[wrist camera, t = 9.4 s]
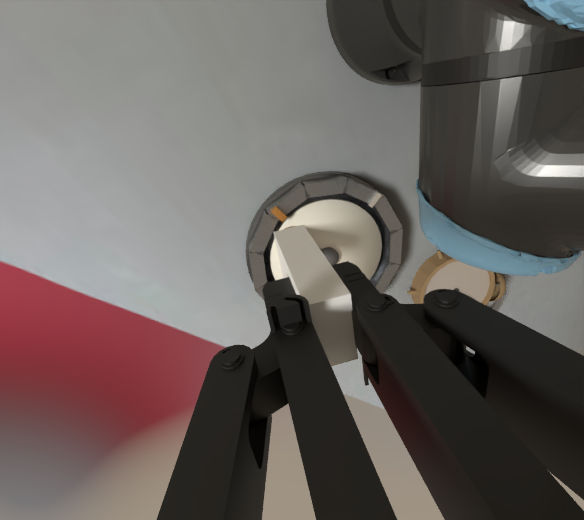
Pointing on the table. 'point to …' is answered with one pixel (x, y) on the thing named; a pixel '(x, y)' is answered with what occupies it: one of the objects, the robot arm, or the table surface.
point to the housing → (315, 189)
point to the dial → (336, 234)
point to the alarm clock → (457, 280)
